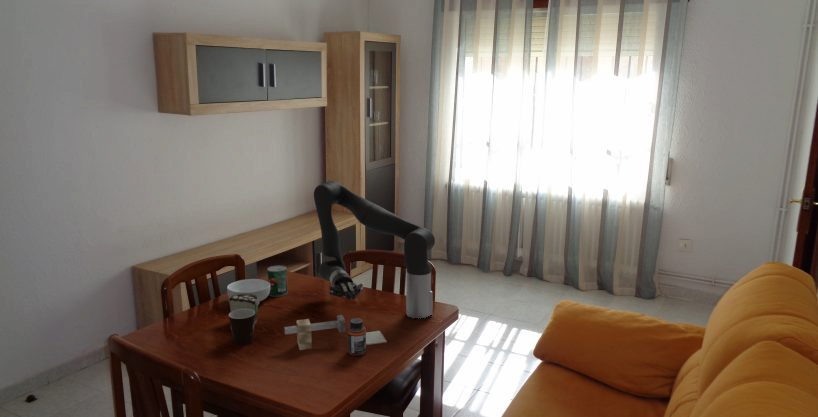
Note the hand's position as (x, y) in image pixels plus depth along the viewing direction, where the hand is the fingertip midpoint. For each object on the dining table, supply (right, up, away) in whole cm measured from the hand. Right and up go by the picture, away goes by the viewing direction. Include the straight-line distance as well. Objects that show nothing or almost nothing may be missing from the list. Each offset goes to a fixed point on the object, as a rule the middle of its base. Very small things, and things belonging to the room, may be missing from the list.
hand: (351, 297), depth 212 cm
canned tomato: (-34, -4, +38) cm, 51 cm away
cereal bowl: (-44, -6, +28) cm, 53 cm away
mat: (+7, -13, -5) cm, 16 cm away
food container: (-39, -10, +9) cm, 42 cm away
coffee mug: (-36, -14, -6) cm, 39 cm away
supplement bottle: (+3, -16, -16) cm, 23 cm away
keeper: (-15, -15, -12) cm, 24 cm away
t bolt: (-11, -10, -11) cm, 19 cm away
